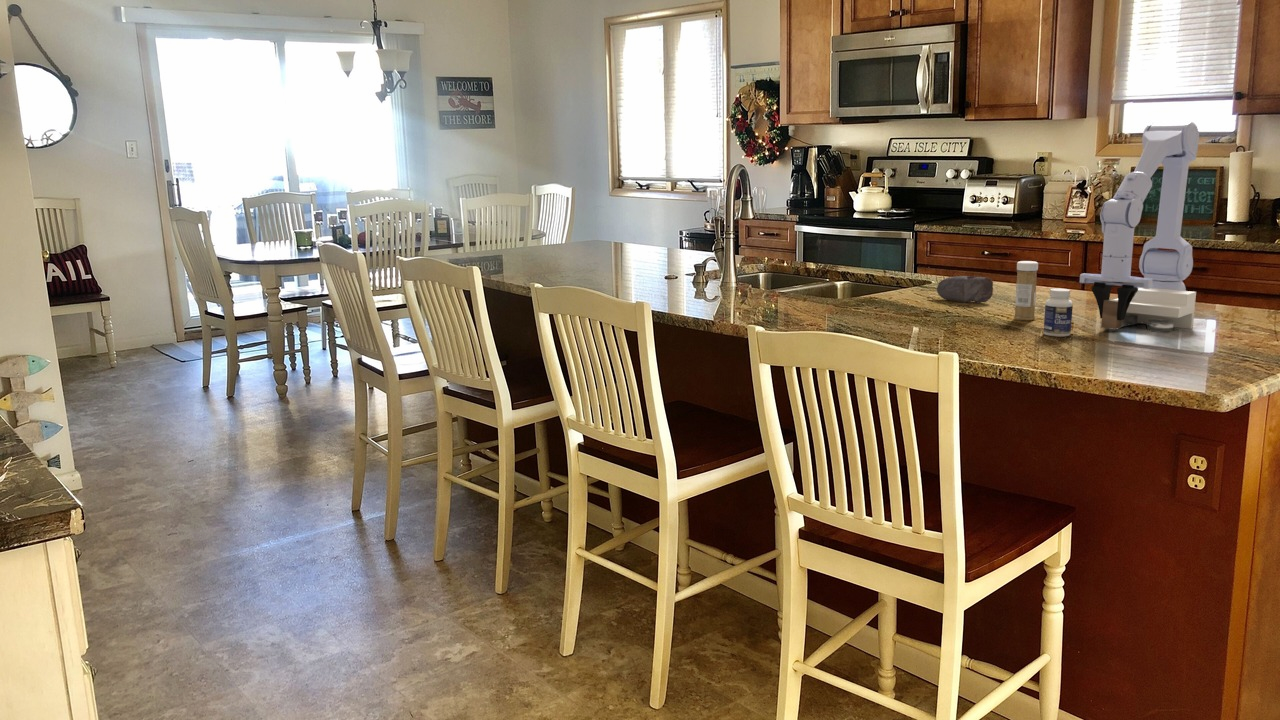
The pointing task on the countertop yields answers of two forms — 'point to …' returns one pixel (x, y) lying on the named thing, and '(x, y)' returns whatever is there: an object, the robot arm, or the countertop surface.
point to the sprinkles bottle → (1026, 290)
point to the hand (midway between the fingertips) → (1112, 318)
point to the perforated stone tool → (966, 289)
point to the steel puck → (1160, 325)
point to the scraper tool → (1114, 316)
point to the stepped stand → (1163, 306)
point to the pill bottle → (1058, 313)
